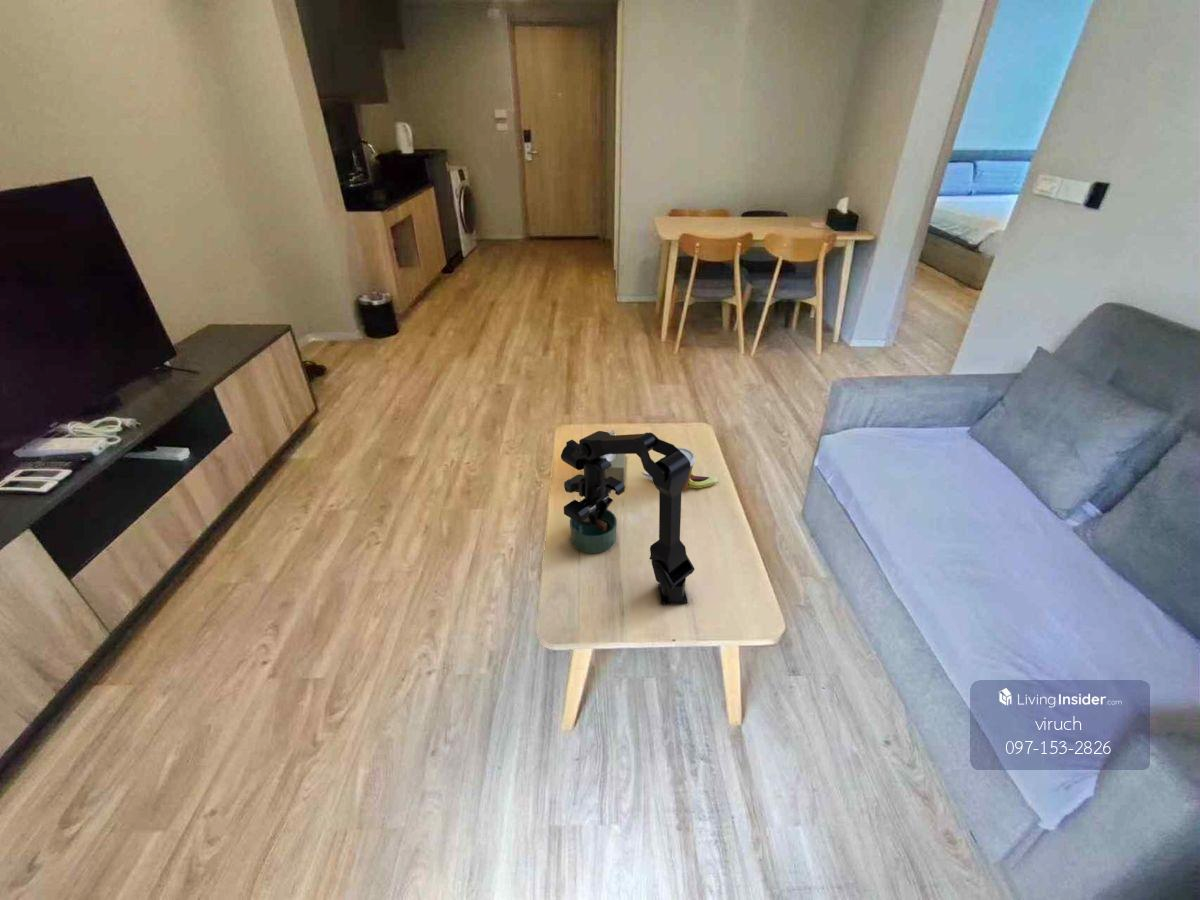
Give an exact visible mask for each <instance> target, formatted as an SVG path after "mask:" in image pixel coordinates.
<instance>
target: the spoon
mask: <svg viewBox="0 0 1200 900" xmlns="http://www.w3.org/2000/svg"><path fill="white" fill-rule="evenodd" d="M581 523H583V524H586V525H587V524H590V525H592V526H594V527H596V528H597V529H599V530H601V531H602V532H604V531H606V530H607V523H605V522H603V521H602V520H600V519H598V518H597V520H596V523H595V525H593V524H591V522H590V520H589V518H586V519H585V520H583V521H582V522H581Z"/></svg>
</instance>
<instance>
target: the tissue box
mask: <svg viewBox="0 0 1200 900" xmlns="http://www.w3.org/2000/svg"><path fill="white" fill-rule="evenodd" d="M608 433H609V434H610V435H616V431H615V430H613V429H611V430H610V432H608ZM601 457H603V458H606V459H607V460H608V461H609V462H610V463H611V465H612V466H611V467H609V468H607V469H606V478H608V477H610V476H611V477H613V478H615V479H617V480H619V481H621V482H623V484H624V485H625V475H626V473H625V471H626V454H606V455H603V456H601Z"/></svg>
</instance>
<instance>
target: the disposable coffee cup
mask: <svg viewBox="0 0 1200 900" xmlns="http://www.w3.org/2000/svg"><path fill="white" fill-rule="evenodd" d="M676 448H677V449H679V450H680V451H681V452H682V453H683V454H684V455H685V456H686V457H687V458H688V460H689V461H690V466H691V467H690V472H689V477H688V480H687V482H686V484H685V485H684V487H683V489H682V492H684V491H686V490H687V489H688V488H689V487H688V483H689V479H690V475H691V471H692V472H693V467H694V464H695V463H696V457H695V453H694V452H693V451H692V450H690V449H689V448H685V447H676Z"/></svg>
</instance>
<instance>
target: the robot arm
mask: <svg viewBox="0 0 1200 900" xmlns="http://www.w3.org/2000/svg"><path fill="white" fill-rule="evenodd" d="M609 433H610V432H608V431H603V430H597V431H596V432H593V433H591V434H589V435H587V436H585V437H583V438H581V439H579V441H578V442H577V441H576V440H574V439H570V440H568V441H566V442H565V443H566V444H565V446H564V448H563V449H562V451H561V454H560V459H561V461H563V462H564V463H566V464H567V465H568V466H570V467H572V468H574V469H575V470H577V471H582V470H583V474H580V473H579V474H576V475H574V476H572V477H571V478H569V479H566V480H565V481H564V482H563V488H564V491H565V492H566V493H569V494H573V493H578V496H579V497H581V498H583V497H584V498H583V499H581V500H580V501H579V500H577V499H573V500H572V501H570V502H567V504H565V505H564V506H563V515H565V516H567V517H568V518H570V519H573V520H575V521H576V522H582V521H583V520H585V519H586V518H589V520H590V522H591V524H593V525H595V523H596V520H597V518H598V519H601V518H602V516H603V514H604V513H605V511H606V510H607V509H608V508H609V507H610V505H611V504H612V503H613V502H614V500H613V498H611V497H610V494H611V493H612V492H611V491H614V494H615V495H617V496H620V495H621V494H623V493H625V491H626V490H625V483H624V484H623V482H621V481H619V480H617V479H615V478H613V477H611V476H610V477H608V478H606V469H607V468H609V467H611V466H612V465H611V463H610V462H609V461H608V460H607V459H606V458H603V457H601V456H603V455H606V454H625V455H635V454H636V456H638V457H639V459H640V461H641V462H640V463H641V465H642V467H643V470H644V471H645V472H646V474H649V475H650V476H651V477H652V478H653V480H652V484H653V485H654V487H655V488H656V489H657V491H658V492H659V498H658V499H659V502H658V503H659V504H658V506H659V507H658V510H659V511H658V540H657V541H654V543H652V544H651V545H650V547H649V553H650V556H649V558H648V559H649V560H650V561H651V566H652V570H653V574H654V578H655V581H656V582H657V583H658V585H657V588H658V592H659V599H660V603H661V605H665V606H667V605H686V604H688V597H687V593H686V583H687V582H686V581H687V577H689V576H690V575H692V574H693V573H694V571H695V569H696V568H695V567H694V565H693V564H692V561H691V560H690V558H689V556H688V555H687V549H686V545H685V544H684V543H683V542H682V541H681V522H682V521H681V519H682V518H681V516H682V492H683V491H682V489H683V487H684V485H685V484H686V482H687V480H688V477H689V472H690V467H691V466H690V461H689V460H688V458H687V457H686V456H685V455H684V454H683V453H682V452H681V451H680V450H679V449H677V448H678V447H677V446H675V444H672V443H670V442H667V441H665V440H662V439H660V438H659V437H657V435H655V433H652V432H649V431H648V432H645V433H631V434H614V435H610V434H609ZM651 450H652V452H656V453H658V454H661V455H663V456H664V457H662V458H660V459H659V460H657V461H654V460H653V459H652V458H651V456H650V451H651Z"/></svg>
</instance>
